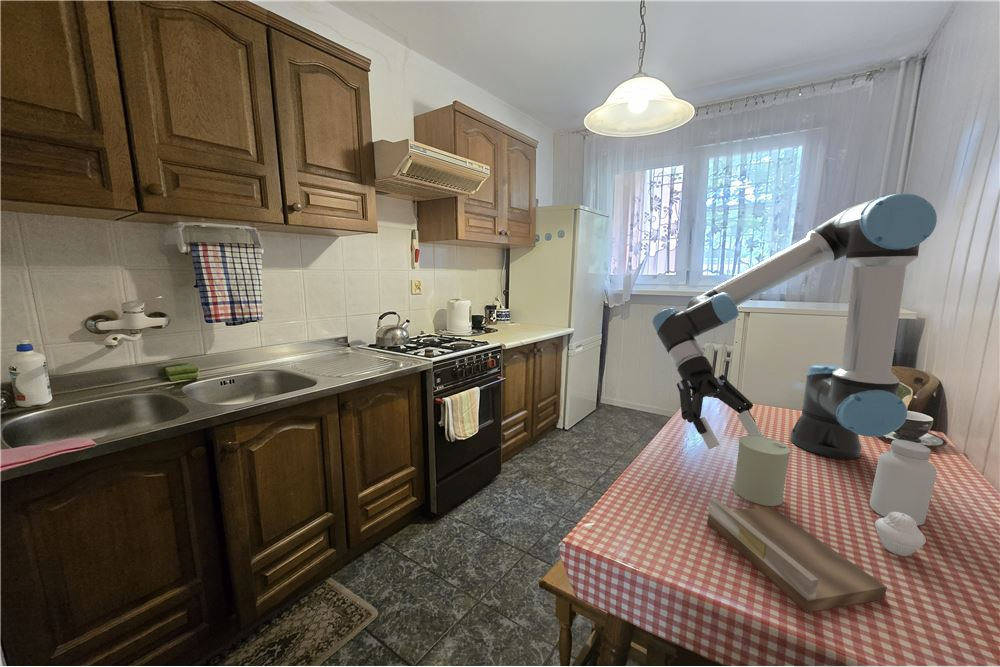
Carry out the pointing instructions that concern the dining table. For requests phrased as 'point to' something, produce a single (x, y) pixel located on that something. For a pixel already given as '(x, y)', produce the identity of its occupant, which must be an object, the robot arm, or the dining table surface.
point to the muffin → (899, 533)
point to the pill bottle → (904, 481)
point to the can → (761, 470)
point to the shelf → (794, 558)
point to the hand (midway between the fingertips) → (736, 442)
